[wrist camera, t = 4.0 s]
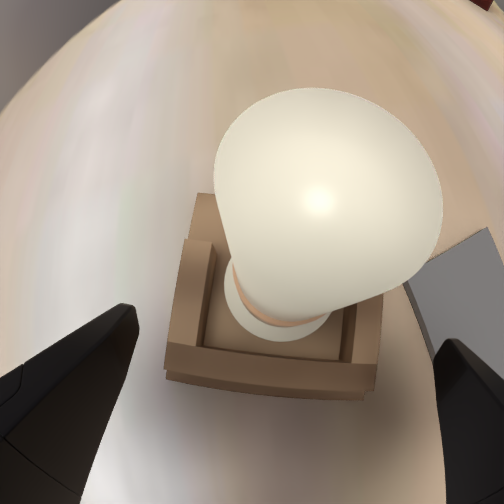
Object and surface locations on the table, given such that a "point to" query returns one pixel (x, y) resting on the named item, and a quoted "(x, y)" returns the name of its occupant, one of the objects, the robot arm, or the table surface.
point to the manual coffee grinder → (483, 3)
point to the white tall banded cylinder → (320, 208)
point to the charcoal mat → (463, 299)
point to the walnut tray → (255, 348)
